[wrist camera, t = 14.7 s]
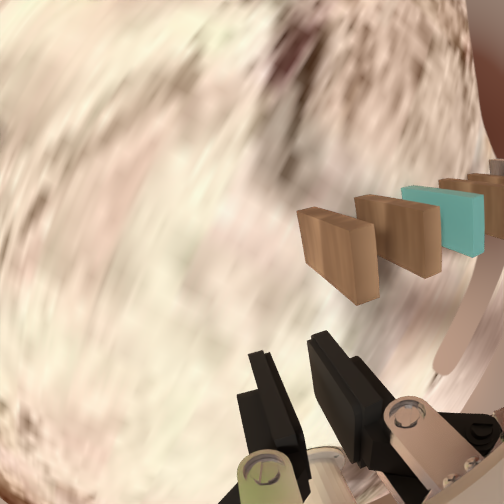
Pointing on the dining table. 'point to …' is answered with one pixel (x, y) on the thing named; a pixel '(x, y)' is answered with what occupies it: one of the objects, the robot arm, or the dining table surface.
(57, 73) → the dining table surface
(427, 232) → the domino
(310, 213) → the domino
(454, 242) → the domino
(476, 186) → the domino
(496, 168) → the block
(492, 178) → the domino
